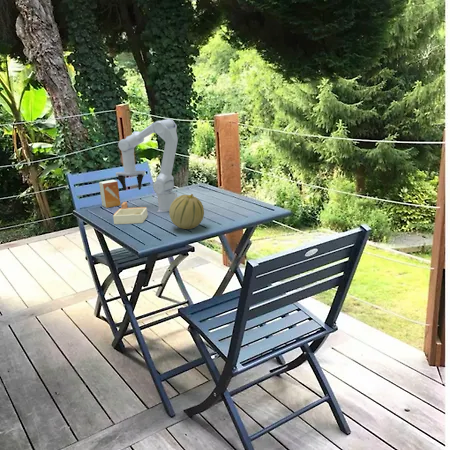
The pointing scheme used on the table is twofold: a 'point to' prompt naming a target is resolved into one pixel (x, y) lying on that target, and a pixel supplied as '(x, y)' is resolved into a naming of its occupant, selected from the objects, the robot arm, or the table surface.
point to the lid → (124, 206)
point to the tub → (130, 216)
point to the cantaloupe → (186, 211)
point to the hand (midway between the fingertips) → (132, 189)
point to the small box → (109, 193)
